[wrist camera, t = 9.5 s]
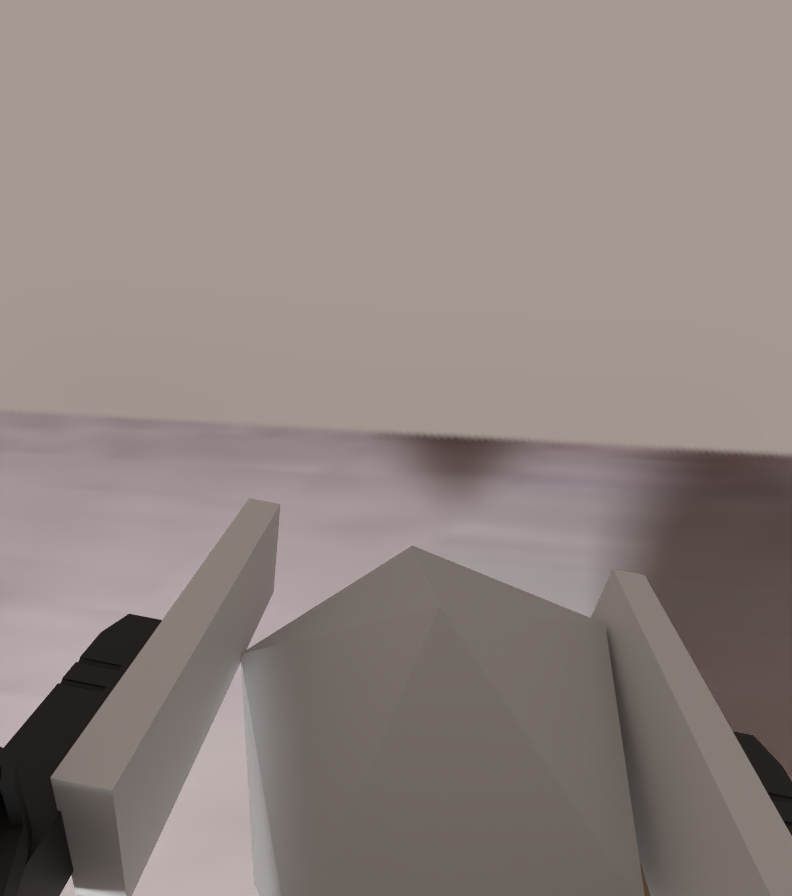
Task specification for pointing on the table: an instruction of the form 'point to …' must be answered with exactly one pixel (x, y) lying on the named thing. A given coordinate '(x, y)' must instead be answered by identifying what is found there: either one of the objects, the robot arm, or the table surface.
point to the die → (437, 744)
